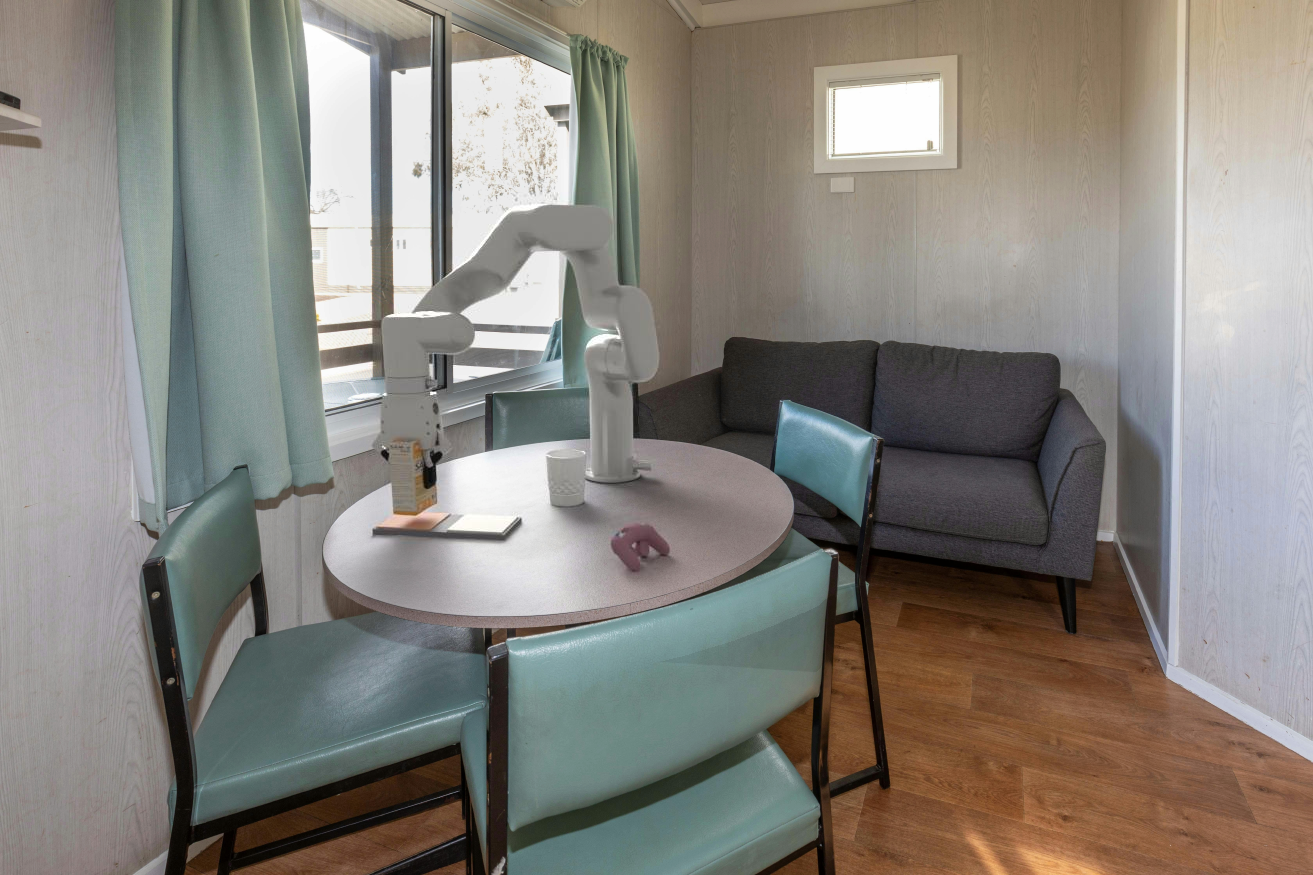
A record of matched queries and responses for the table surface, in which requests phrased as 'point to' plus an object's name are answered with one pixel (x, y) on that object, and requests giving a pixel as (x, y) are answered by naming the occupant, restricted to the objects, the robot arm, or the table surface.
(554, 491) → the white cup
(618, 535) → the video game controller
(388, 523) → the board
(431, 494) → the supplement box
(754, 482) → the table surface
